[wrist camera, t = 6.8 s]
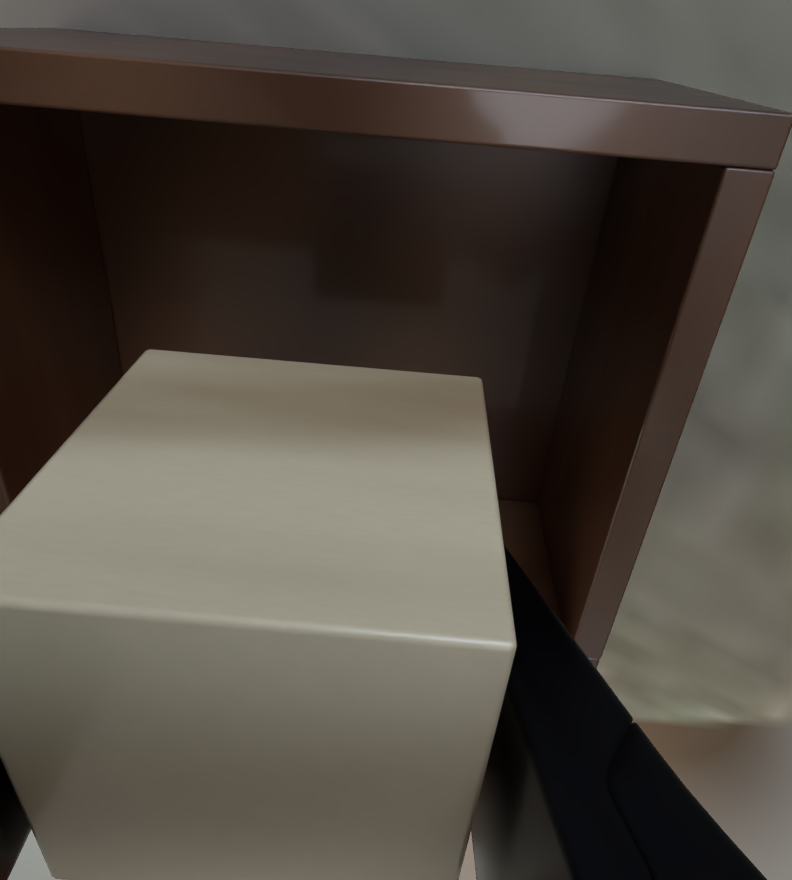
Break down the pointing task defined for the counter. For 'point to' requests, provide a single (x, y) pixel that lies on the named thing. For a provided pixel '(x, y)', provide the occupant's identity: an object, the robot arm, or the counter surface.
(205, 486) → the block
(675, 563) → the counter surface
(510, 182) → the chest
